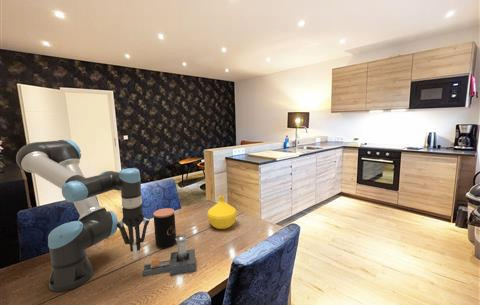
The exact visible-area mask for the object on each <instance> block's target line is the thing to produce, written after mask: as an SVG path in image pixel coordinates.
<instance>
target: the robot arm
mask: <svg viewBox="0 0 480 305" xmlns="http://www.w3.org/2000/svg"><path fill="white" fill-rule="evenodd" d="M15 156H16V157H15V162H16V164H17V166H18V167H19V168H20V169H21V170H23V171H25V172H26V173H30V174H31V173H32V174H36V176H39V177H41V178H42V179H43V180H44V179H45V181H47V182H49V183H50V184H52V185H54V186H56V187H58V188H59V189H61V194H62V197H63V198H64V199H65V201H66V202H68V203H72V204H73V205H74V207H75V209H76V210H77V213H78V215H79V218H78V220H74V221H69V222H65V223H63V224H61V225H59V226H57V227H55V228H54V229H52V230H51V231H50V232H49V234H48V236H47V247H48V250H49V257H50V261H51V267H52V269H51V270H50V275H49V280H48V286H49V290H50V291H52V292H56V293H58V292H65V291H70V290H73V289H75V288H77V287H79V286H82V285H83V284H85V283H86V282H87V281H89V280H90V279H91V277H92V276H93V274H94V266H93V265H92V262H91V261H90V260H89V258H88V256H87V249H89V248H91V247H93V246H94V245H96V244H99V243H101V242H102V241H104V240H107V239H109V238H110V237H112V236H113V235H114V234H115V233H116V232H117V231H118V230H119V232H120V234H121V237H122V240H123V242H124V244H125V245H129V247H130V252H132V253H133V254H132V256H133V260H138V258H139V251H140V250H141V248H142V247H141V246H142V245H141V243H144V241H145V239H146V238H145V237H146V234H147V229H148V225H149V223H150V221H151V220H150V218H146V217H145V216H144V212H143V199H142V198H143V197H142V183H141V173H140V170H139V169H138V168H135V167H132V168H131V167H129V168H123V169H121V170H119V172H118V171H114V170H104V171H102V172H101V173H100V174H98V175H94V176H89V177H86V176H84V173H83V172H82V170H81V167H80V166H79V165H80V163H81V161H80V160H81V159H82V153H81V148H80V146H79V145H78V144H77V143H76V142H75V141H73V140H70V139H59V140H49V141H35V142H29V143H26V144H25V145H23V146H22V147H21V148H20V149H19V150H18V152H17V153H16V155H15ZM110 191H118V192H120V195H121V196H120V197H121V207H122V219H121V220H120V221H118V217H117V214H115V212H113V211H112V210H107V208H106V207H104V206H101V205H100V203H99V201H98V200H97V198H96V196H98V195H100V194H104V193H107V192H110ZM142 223H143V227H142V233H141V232H140V225H141V224H142ZM125 226H126V227H127V230H126V228H125ZM134 230H135V231H134ZM127 231H128V232H127ZM134 232H135V233H134ZM134 234H135V237H134Z"/></svg>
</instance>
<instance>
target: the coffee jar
mask: <svg viewBox="0 0 480 305" xmlns="http://www.w3.org/2000/svg"><path fill="white" fill-rule="evenodd" d="M152 215H153V228H154V238H155V245H156V247H158V248H159V249H168V248H171V247H173V246H174V245H175V244H176V243H177V242H176V240H175V237H176V236H177V233H176V232H177V228H176V218H175V217H176V215H175V210H174V209H173V208H170V207H169V208H167V207H166V208H160V209H157V210H155V211H154V212H153V214H152Z"/></svg>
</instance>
